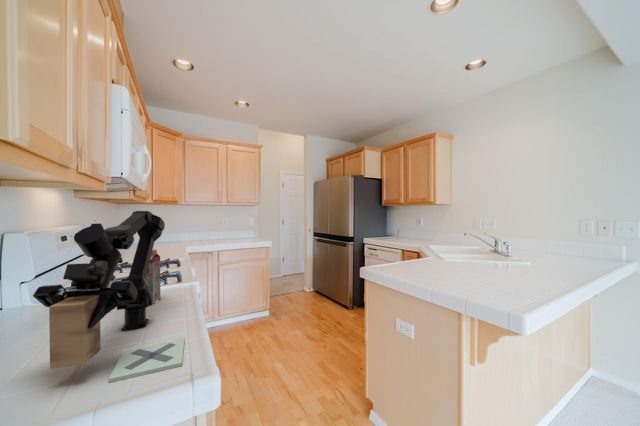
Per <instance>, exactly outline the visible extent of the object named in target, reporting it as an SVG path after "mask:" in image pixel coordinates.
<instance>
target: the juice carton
mask: <svg viewBox="0 0 640 426" xmlns="http://www.w3.org/2000/svg"><path fill="white" fill-rule="evenodd" d="M146 281H147V283H148V285H149V291H150V293H151V294H152V296H153V302H152V304H153V303H155V302H156V301H157V300H159V299H160V300H161V256H160V255H159V254H158V250H157V249H153V250H152V254H151V258H150V262H149V266H148V270H147V274H146ZM160 300H159V301H160ZM155 304H156V303H155Z"/></svg>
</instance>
